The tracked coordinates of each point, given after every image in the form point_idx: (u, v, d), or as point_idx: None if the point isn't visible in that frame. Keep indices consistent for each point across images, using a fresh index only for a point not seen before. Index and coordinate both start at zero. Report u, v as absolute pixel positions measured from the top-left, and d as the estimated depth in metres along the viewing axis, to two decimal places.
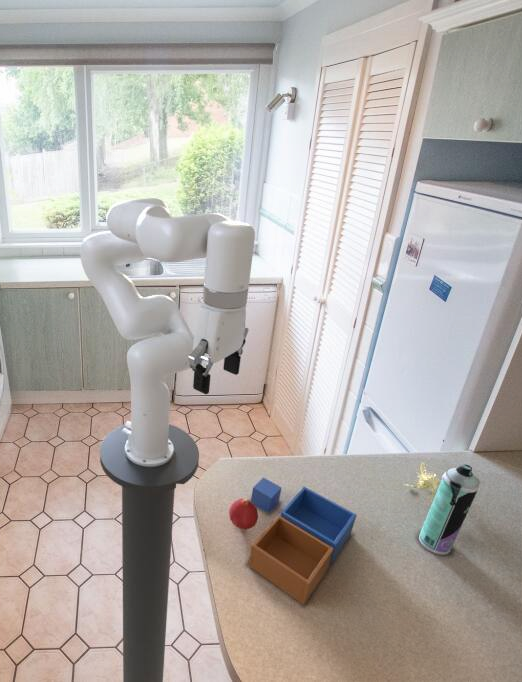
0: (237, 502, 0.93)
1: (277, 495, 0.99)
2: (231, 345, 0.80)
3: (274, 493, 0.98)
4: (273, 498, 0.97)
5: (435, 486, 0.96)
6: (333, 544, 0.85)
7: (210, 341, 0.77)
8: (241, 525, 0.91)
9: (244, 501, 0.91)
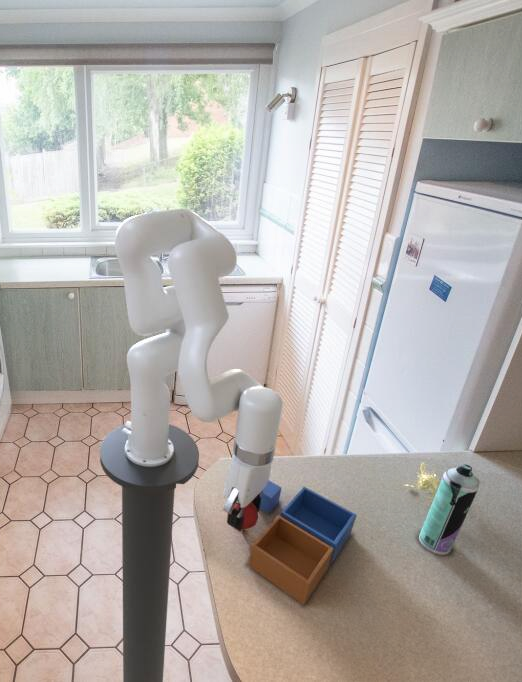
0: None
1: (277, 495, 0.99)
2: (258, 489, 0.88)
3: (274, 493, 0.98)
4: (273, 498, 0.97)
5: (435, 486, 0.96)
6: (333, 544, 0.85)
7: (240, 491, 0.85)
8: None
9: None
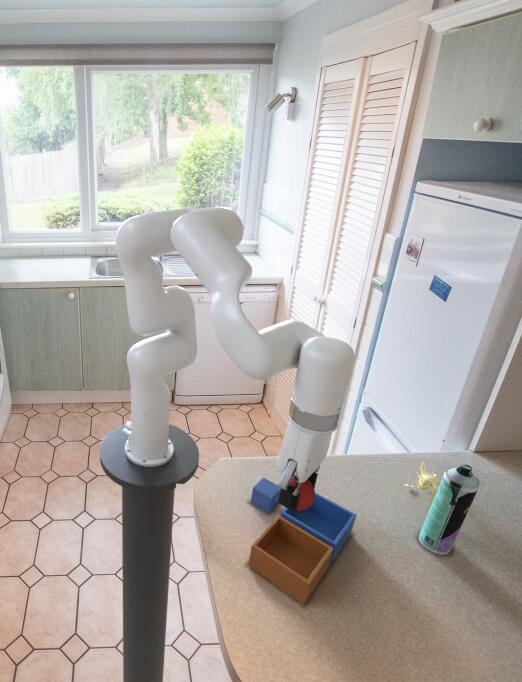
0: None
1: (277, 495, 0.99)
2: (318, 461, 0.75)
3: (274, 493, 0.98)
4: (273, 498, 0.97)
5: (435, 486, 0.96)
6: (333, 544, 0.85)
7: (300, 463, 0.71)
8: None
9: None
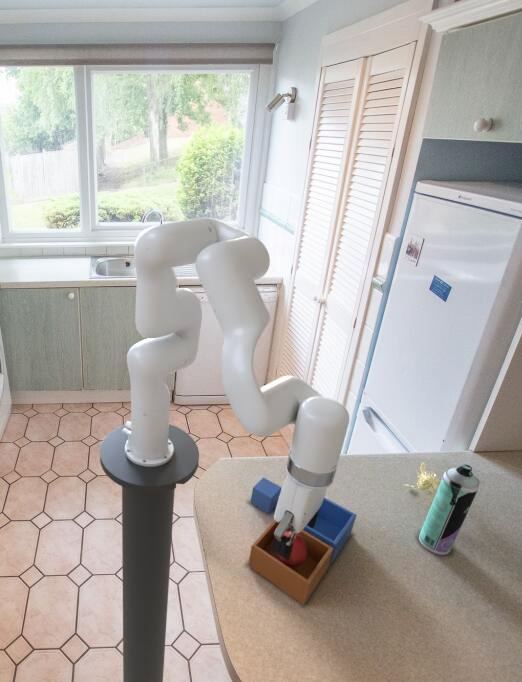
0: None
1: (277, 495, 0.99)
2: (314, 512, 0.78)
3: (274, 493, 0.98)
4: (273, 498, 0.97)
5: (435, 486, 0.96)
6: (333, 544, 0.85)
7: (296, 515, 0.75)
8: (289, 561, 0.83)
9: None
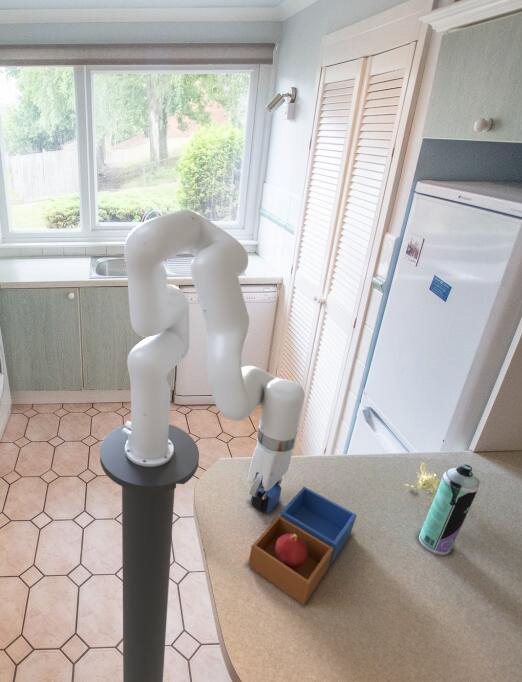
0: (284, 537, 0.84)
1: (277, 495, 0.99)
2: (280, 474, 0.95)
3: (274, 493, 0.98)
4: (273, 498, 0.97)
5: (435, 486, 0.96)
6: (333, 544, 0.85)
7: (264, 475, 0.92)
8: (289, 563, 0.83)
9: (293, 537, 0.83)
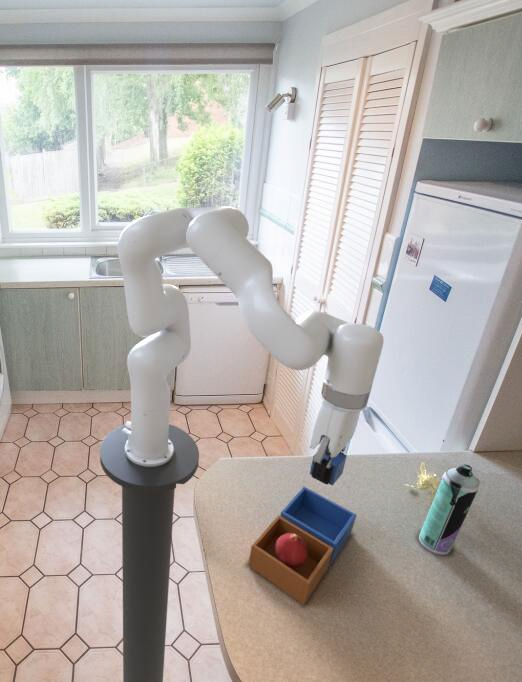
0: (284, 537, 0.84)
1: (342, 464, 0.85)
2: (348, 438, 0.82)
3: (339, 461, 0.84)
4: (338, 467, 0.83)
5: (435, 486, 0.96)
6: (333, 544, 0.85)
7: (332, 438, 0.78)
8: (289, 563, 0.83)
9: (293, 537, 0.83)
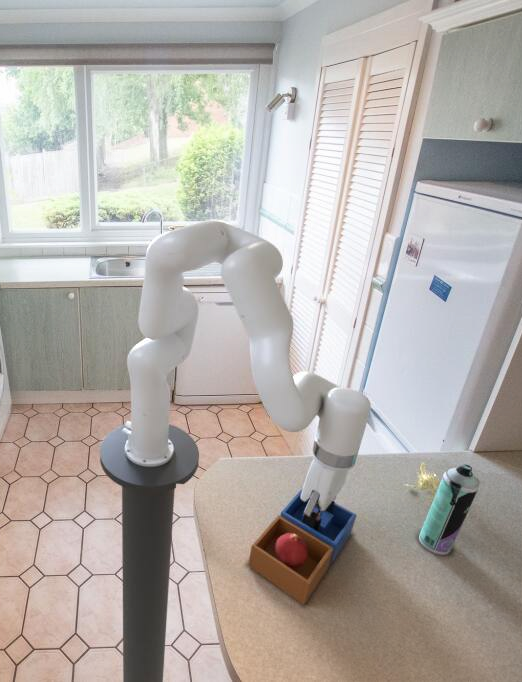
0: (284, 537, 0.84)
1: (329, 524, 0.91)
2: (337, 492, 0.87)
3: (326, 522, 0.90)
4: (325, 527, 0.89)
5: (435, 486, 0.96)
6: (333, 544, 0.85)
7: (322, 494, 0.83)
8: (289, 563, 0.83)
9: (293, 537, 0.83)
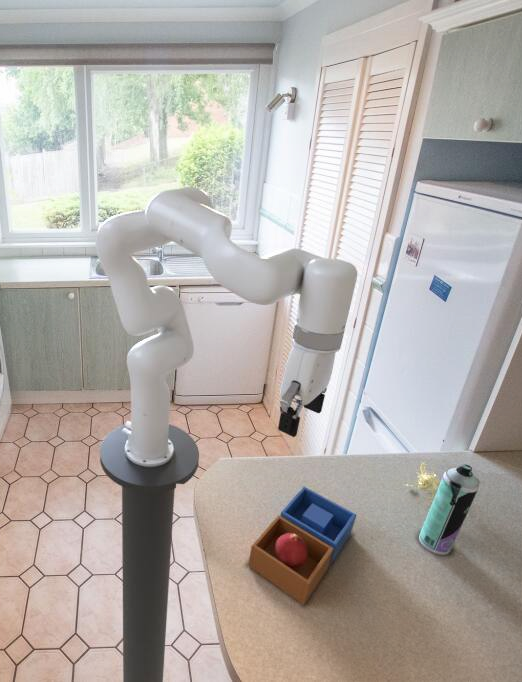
0: (284, 537, 0.84)
1: (329, 524, 0.91)
2: (321, 386, 0.76)
3: (326, 522, 0.90)
4: (325, 527, 0.89)
5: (435, 486, 0.96)
6: (333, 544, 0.85)
7: (303, 383, 0.73)
8: (289, 563, 0.83)
9: (293, 537, 0.83)
